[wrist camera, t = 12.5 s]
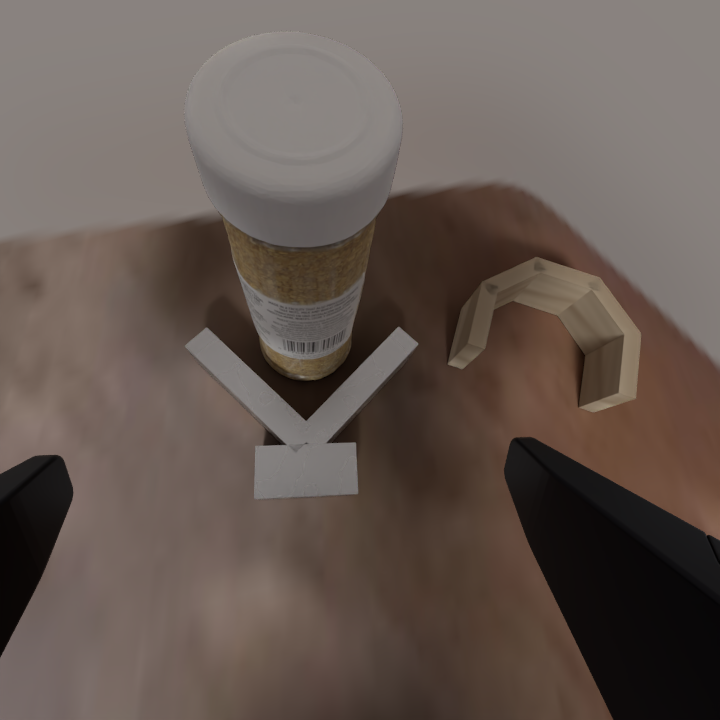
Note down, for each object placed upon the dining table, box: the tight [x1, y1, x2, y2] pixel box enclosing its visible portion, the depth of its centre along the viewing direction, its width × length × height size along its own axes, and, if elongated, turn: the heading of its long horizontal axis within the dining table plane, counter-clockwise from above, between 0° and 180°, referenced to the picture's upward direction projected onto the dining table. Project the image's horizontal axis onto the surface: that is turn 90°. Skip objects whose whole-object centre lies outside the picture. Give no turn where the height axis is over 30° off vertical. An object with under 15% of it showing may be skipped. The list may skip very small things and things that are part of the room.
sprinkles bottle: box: [184, 31, 403, 381], centre depth 15 cm, size 5×5×14 cm
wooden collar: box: [448, 257, 642, 412], centre depth 21 cm, size 6×8×3 cm
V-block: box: [185, 326, 418, 500], centre depth 19 cm, size 7×10×2 cm
